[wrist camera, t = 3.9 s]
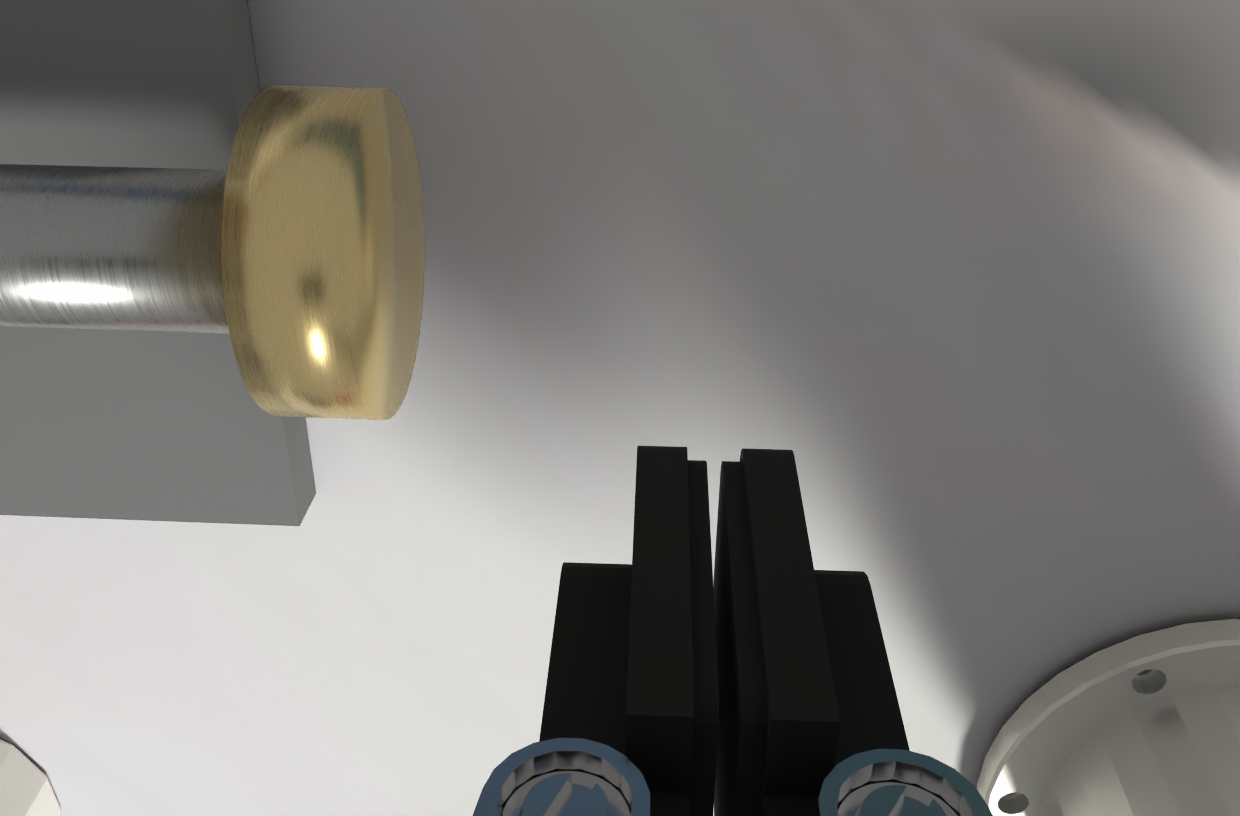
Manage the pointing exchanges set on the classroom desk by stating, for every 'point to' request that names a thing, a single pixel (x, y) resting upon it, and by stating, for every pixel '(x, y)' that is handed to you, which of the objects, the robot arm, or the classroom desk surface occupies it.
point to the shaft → (244, 250)
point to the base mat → (127, 359)
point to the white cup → (24, 786)
